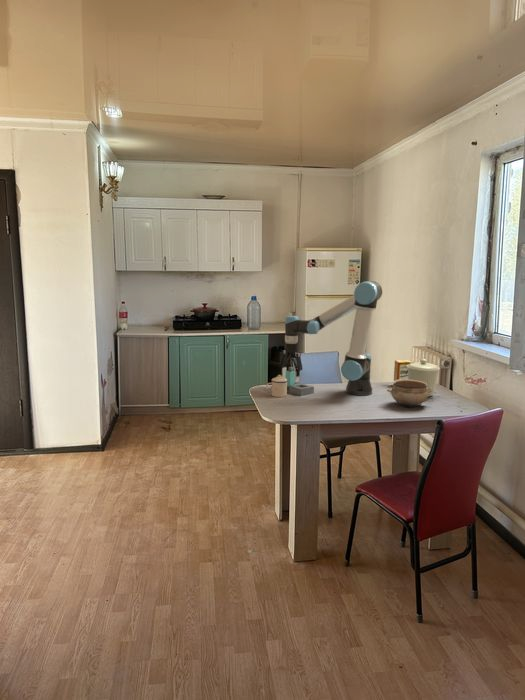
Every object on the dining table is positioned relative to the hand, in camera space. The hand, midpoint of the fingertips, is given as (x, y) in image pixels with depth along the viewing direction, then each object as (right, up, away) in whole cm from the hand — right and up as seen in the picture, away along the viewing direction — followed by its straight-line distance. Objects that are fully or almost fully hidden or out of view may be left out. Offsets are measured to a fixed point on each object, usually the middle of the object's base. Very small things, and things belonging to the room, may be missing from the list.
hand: (290, 380), depth 303 cm
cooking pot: (+61, -12, -29) cm, 69 cm away
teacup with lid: (-8, -8, -13) cm, 17 cm away
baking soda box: (+70, -5, +14) cm, 71 cm away
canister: (+75, -8, -6) cm, 76 cm away
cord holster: (0, -6, +1) cm, 6 cm away
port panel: (+6, -7, -6) cm, 11 cm away
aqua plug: (0, -6, +1) cm, 6 cm away
